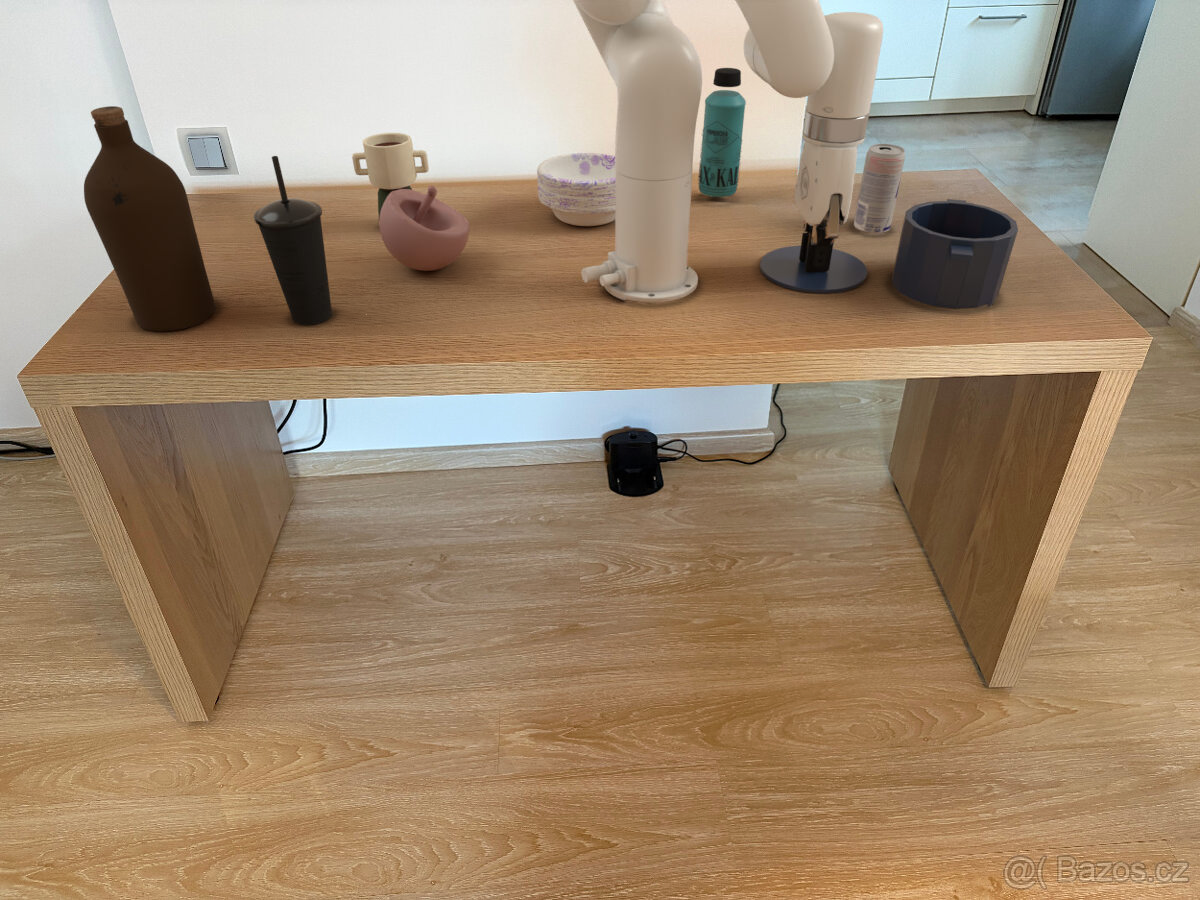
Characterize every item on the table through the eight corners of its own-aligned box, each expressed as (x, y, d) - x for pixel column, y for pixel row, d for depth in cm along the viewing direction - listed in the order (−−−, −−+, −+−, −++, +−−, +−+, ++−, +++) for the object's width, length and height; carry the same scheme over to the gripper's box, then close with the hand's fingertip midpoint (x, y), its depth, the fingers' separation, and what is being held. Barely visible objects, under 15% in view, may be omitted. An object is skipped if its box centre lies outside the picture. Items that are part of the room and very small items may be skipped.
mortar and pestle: (470, 283, 114) (461, 200, 107) (381, 287, 113) (366, 204, 106) (475, 247, 123) (467, 169, 116) (392, 250, 123) (379, 172, 116)
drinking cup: (284, 335, 102) (241, 171, 90) (277, 309, 108) (236, 151, 96) (348, 323, 105) (314, 162, 93) (338, 298, 110) (304, 143, 98)
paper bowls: (625, 195, 140) (625, 147, 135) (644, 230, 128) (646, 178, 123) (534, 202, 138) (531, 153, 133) (545, 238, 126) (542, 185, 121)
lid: (868, 259, 119) (876, 218, 115) (863, 303, 108) (872, 260, 104) (766, 248, 122) (771, 208, 119) (752, 290, 111) (756, 247, 108)
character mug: (437, 214, 134) (426, 130, 126) (434, 232, 128) (423, 145, 120) (367, 217, 133) (352, 133, 125) (361, 235, 127) (345, 148, 119)
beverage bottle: (697, 191, 141) (706, 63, 129) (737, 193, 140) (749, 64, 128) (696, 205, 136) (704, 73, 124) (737, 207, 135) (749, 74, 123)
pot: (991, 266, 117) (1010, 199, 111) (1001, 328, 102) (1024, 255, 97) (892, 255, 120) (906, 189, 114) (889, 314, 105) (905, 242, 100)
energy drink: (886, 223, 129) (902, 143, 122) (892, 236, 125) (909, 155, 118) (850, 222, 130) (864, 143, 123) (855, 235, 125) (870, 154, 118)
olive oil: (233, 317, 106) (171, 111, 91) (145, 343, 101) (64, 129, 86) (205, 288, 113) (142, 92, 98) (121, 312, 108) (42, 108, 93)
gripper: (790, 109, 110) (774, 243, 121) (821, 147, 97) (799, 293, 108) (847, 108, 110) (825, 241, 121) (885, 145, 97) (857, 291, 108)
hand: (813, 264), depth 114 cm, fingers closed on lid, 2 cm apart
